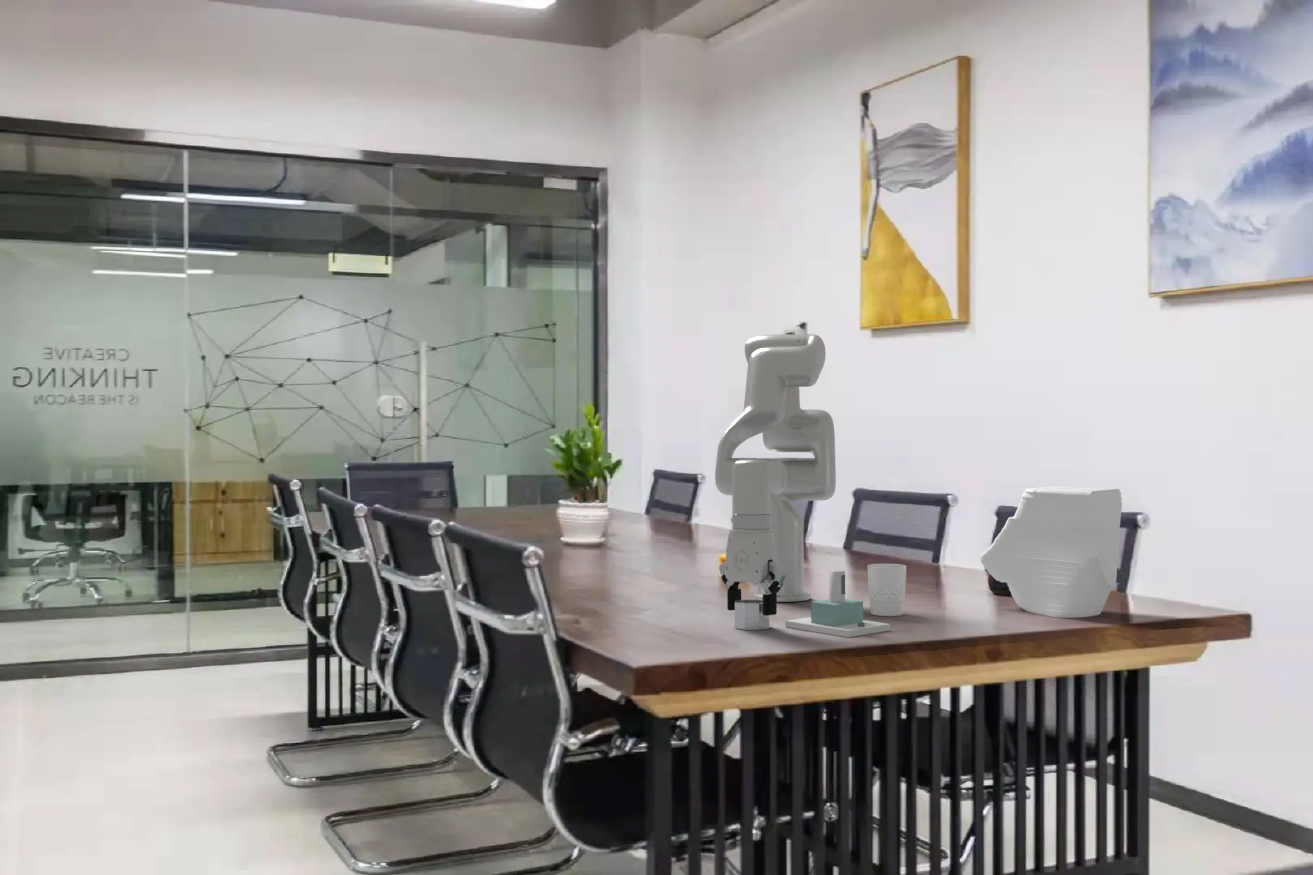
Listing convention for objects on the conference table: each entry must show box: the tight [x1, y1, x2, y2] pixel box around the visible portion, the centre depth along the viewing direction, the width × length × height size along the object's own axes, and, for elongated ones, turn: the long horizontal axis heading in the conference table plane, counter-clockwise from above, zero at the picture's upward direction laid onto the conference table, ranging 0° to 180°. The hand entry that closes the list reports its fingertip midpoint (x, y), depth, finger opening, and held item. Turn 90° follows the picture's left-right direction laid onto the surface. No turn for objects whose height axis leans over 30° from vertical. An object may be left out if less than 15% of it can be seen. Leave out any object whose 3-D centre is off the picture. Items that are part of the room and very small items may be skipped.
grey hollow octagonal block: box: [734, 598, 770, 631], centre depth 247 cm, size 7×7×5 cm
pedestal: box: [784, 569, 891, 638], centre depth 245 cm, size 16×12×11 cm
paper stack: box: [979, 485, 1123, 619], centre depth 269 cm, size 21×27×26 cm
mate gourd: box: [987, 573, 1012, 596], centre depth 293 cm, size 7×8×10 cm
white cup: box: [867, 563, 907, 617], centre depth 263 cm, size 8×8×10 cm
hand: (751, 612), depth 246 cm, fingers open, 9 cm apart
